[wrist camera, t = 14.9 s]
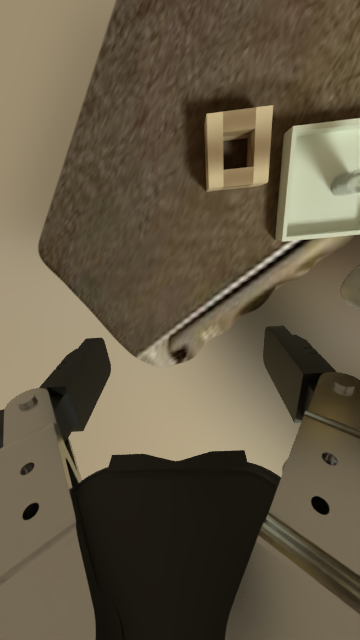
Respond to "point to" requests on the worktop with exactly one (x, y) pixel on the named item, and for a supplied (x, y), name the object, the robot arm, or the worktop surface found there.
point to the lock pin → (346, 183)
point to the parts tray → (318, 181)
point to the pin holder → (233, 127)
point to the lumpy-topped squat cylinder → (352, 288)
